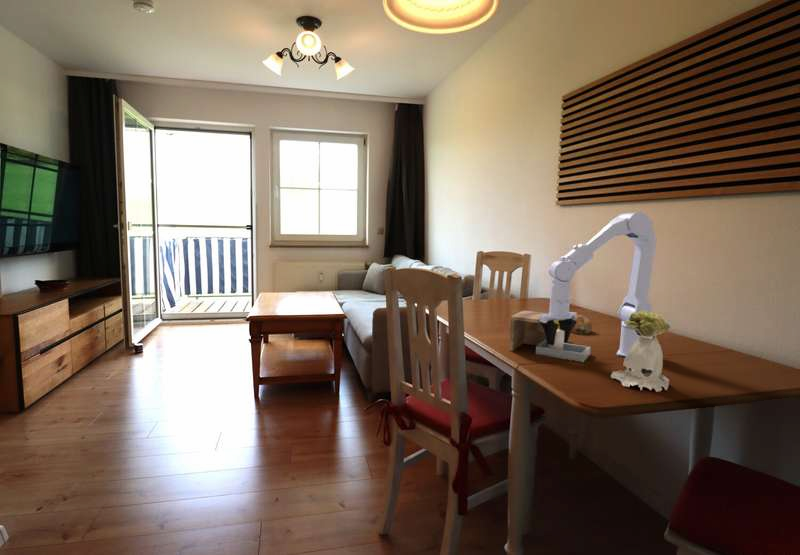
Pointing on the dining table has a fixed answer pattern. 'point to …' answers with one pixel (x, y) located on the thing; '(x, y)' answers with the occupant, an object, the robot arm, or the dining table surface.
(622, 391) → the dining table surface
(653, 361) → the potted plant vase
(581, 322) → the bread roll
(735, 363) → the dining table surface
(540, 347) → the tray
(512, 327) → the counter shelf
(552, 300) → the robot arm
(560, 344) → the beige rounded lump
